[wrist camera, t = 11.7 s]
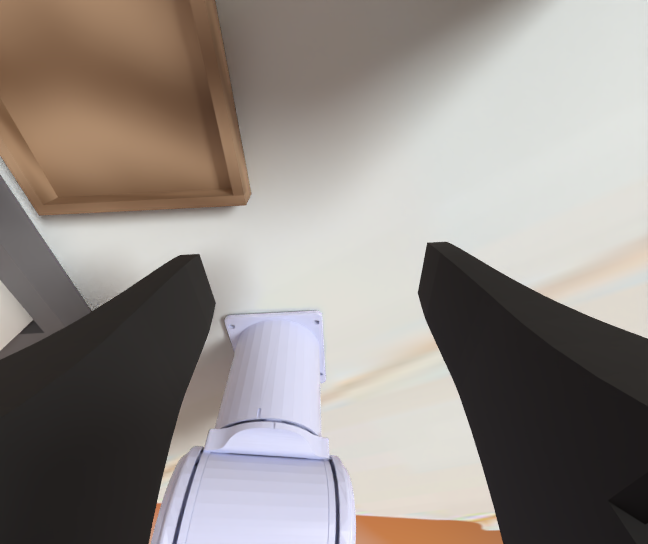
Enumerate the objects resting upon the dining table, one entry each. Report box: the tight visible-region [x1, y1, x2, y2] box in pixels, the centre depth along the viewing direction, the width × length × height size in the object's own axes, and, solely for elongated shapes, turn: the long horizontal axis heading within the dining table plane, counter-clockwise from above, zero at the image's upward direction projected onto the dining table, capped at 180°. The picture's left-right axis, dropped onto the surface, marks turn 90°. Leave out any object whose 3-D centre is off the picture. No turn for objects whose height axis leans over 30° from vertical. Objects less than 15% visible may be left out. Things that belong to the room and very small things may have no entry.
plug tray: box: [0, 0, 251, 215], centre depth 15 cm, size 12×12×2 cm
